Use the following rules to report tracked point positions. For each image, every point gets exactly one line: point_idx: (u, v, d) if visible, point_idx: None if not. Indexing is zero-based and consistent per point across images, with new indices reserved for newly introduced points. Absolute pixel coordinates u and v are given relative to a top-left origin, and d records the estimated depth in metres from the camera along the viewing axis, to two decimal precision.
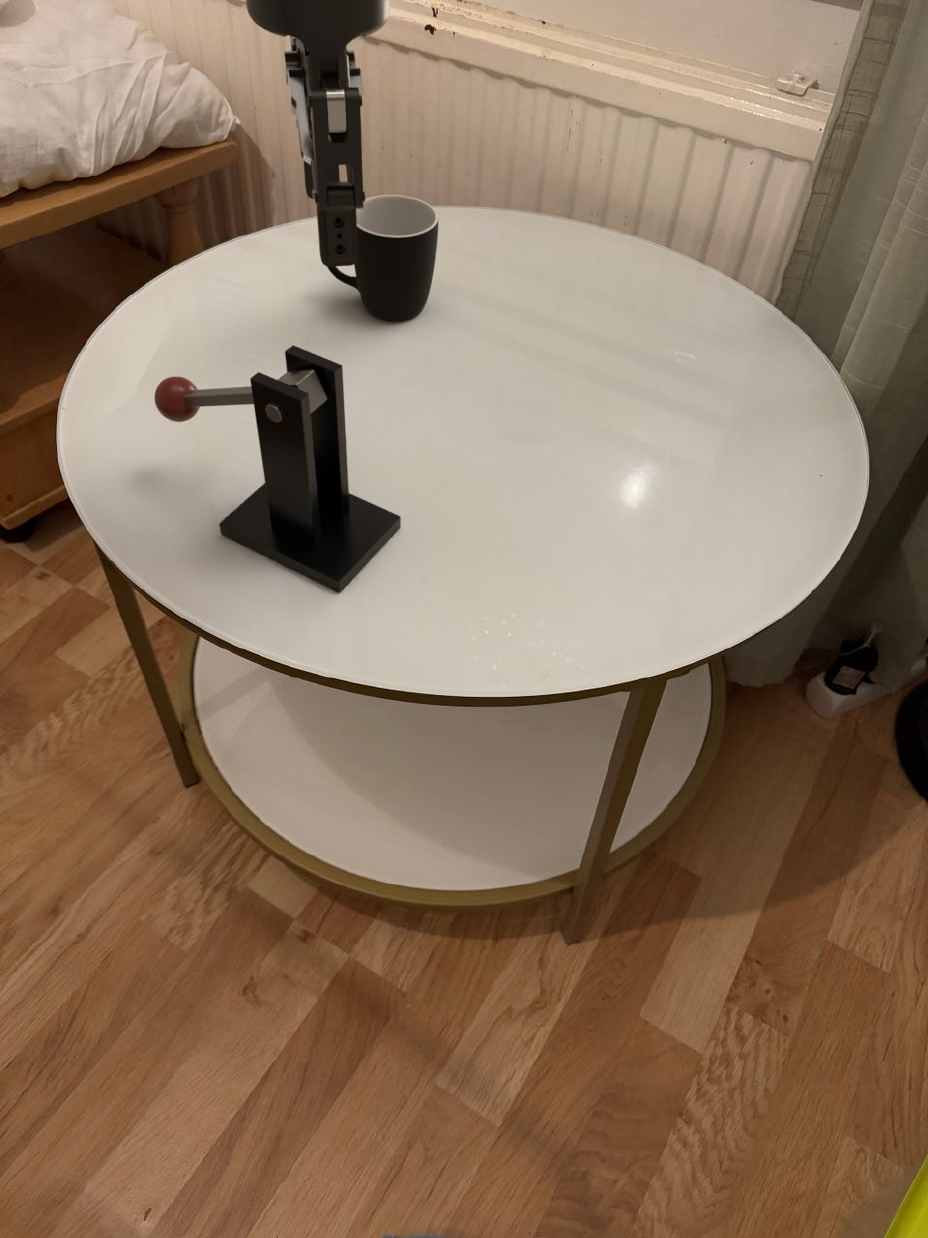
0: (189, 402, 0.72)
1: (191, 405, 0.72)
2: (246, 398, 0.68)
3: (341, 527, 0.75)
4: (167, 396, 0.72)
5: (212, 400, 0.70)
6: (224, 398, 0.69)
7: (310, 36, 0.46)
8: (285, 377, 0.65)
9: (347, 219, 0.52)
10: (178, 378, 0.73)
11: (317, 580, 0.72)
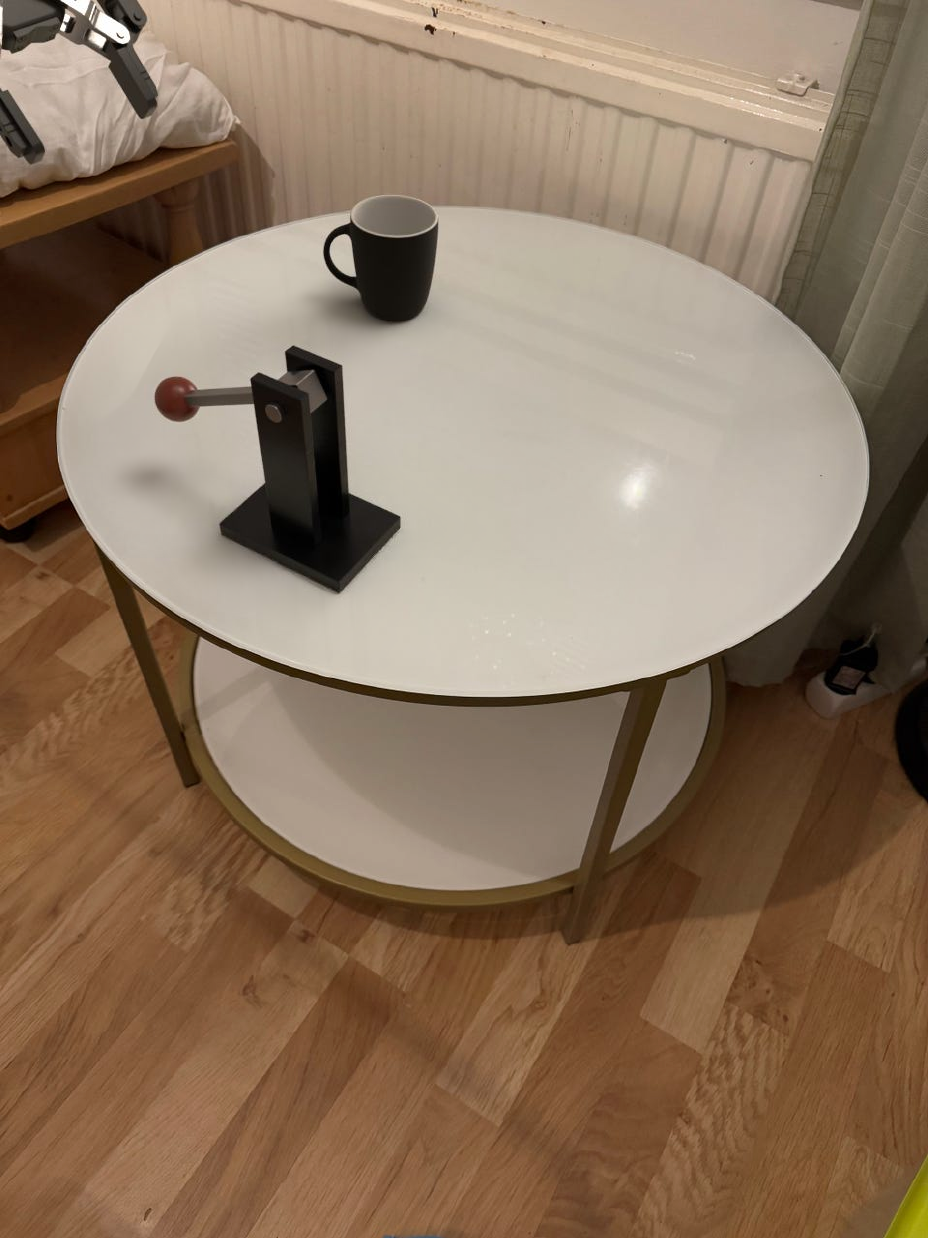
0: (189, 402, 0.72)
1: (191, 405, 0.72)
2: (246, 398, 0.68)
3: (341, 527, 0.75)
4: (167, 396, 0.72)
5: (212, 400, 0.70)
6: (224, 398, 0.69)
7: None
8: (285, 377, 0.65)
9: None
10: (178, 378, 0.73)
11: (317, 580, 0.72)
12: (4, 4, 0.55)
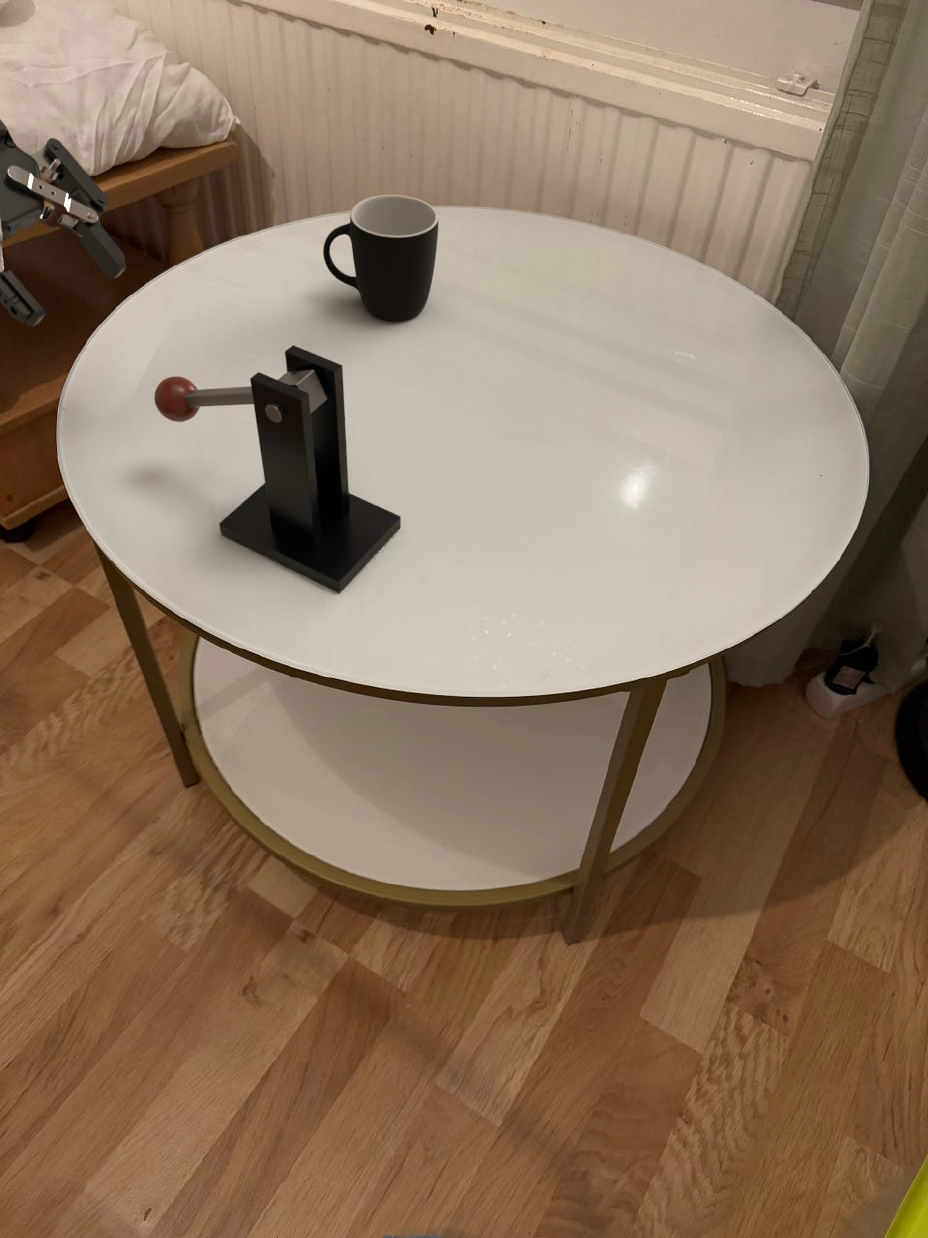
0: (189, 402, 0.72)
1: (191, 405, 0.72)
2: (246, 398, 0.68)
3: (341, 527, 0.75)
4: (167, 396, 0.72)
5: (212, 400, 0.70)
6: (224, 398, 0.69)
7: None
8: (285, 377, 0.65)
9: None
10: (178, 378, 0.73)
11: (317, 580, 0.72)
12: None
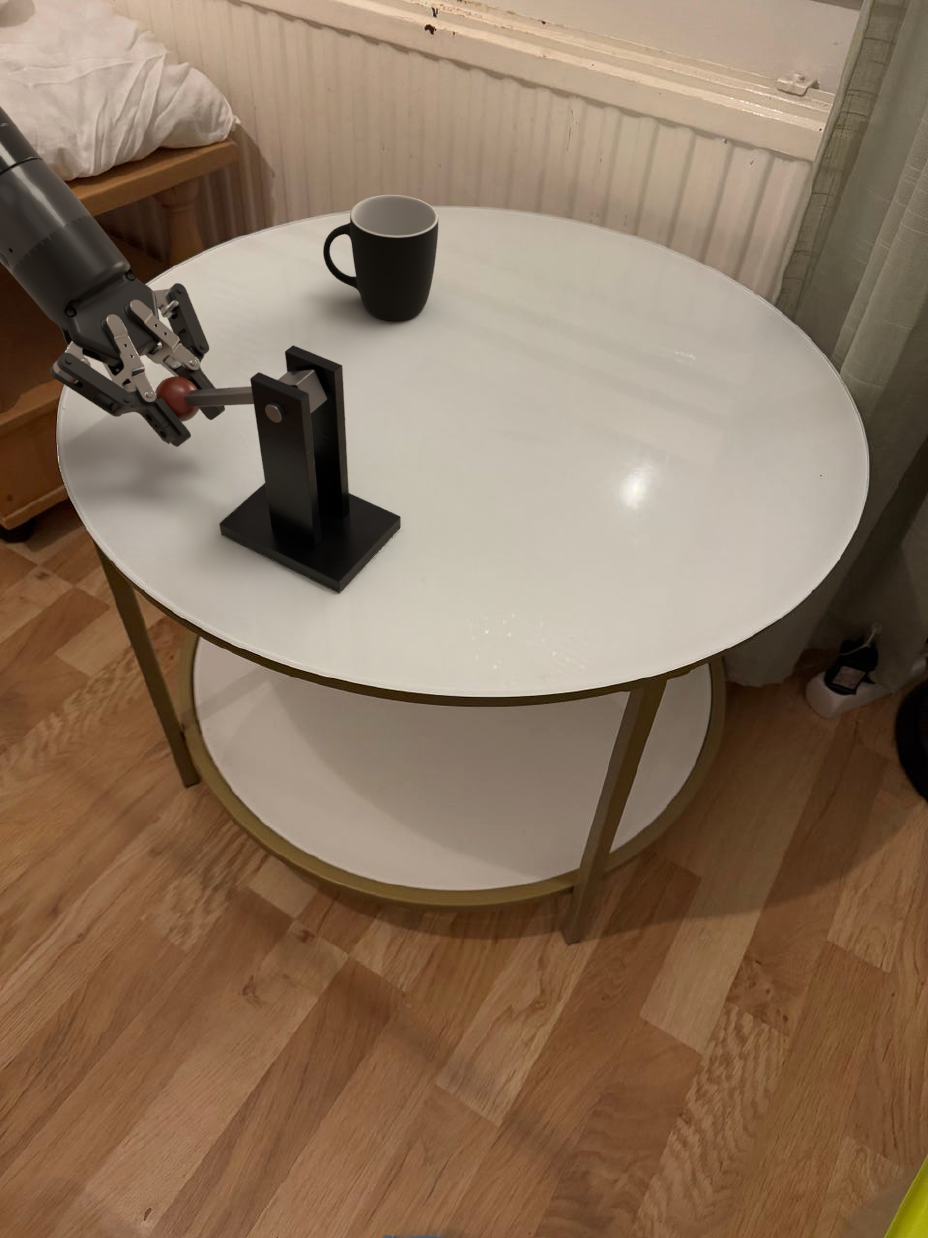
0: (189, 402, 0.72)
1: (191, 405, 0.72)
2: (246, 398, 0.68)
3: (341, 527, 0.75)
4: (167, 396, 0.72)
5: (212, 400, 0.70)
6: (224, 398, 0.69)
7: None
8: (285, 377, 0.65)
9: None
10: (178, 378, 0.73)
11: (317, 580, 0.72)
12: None
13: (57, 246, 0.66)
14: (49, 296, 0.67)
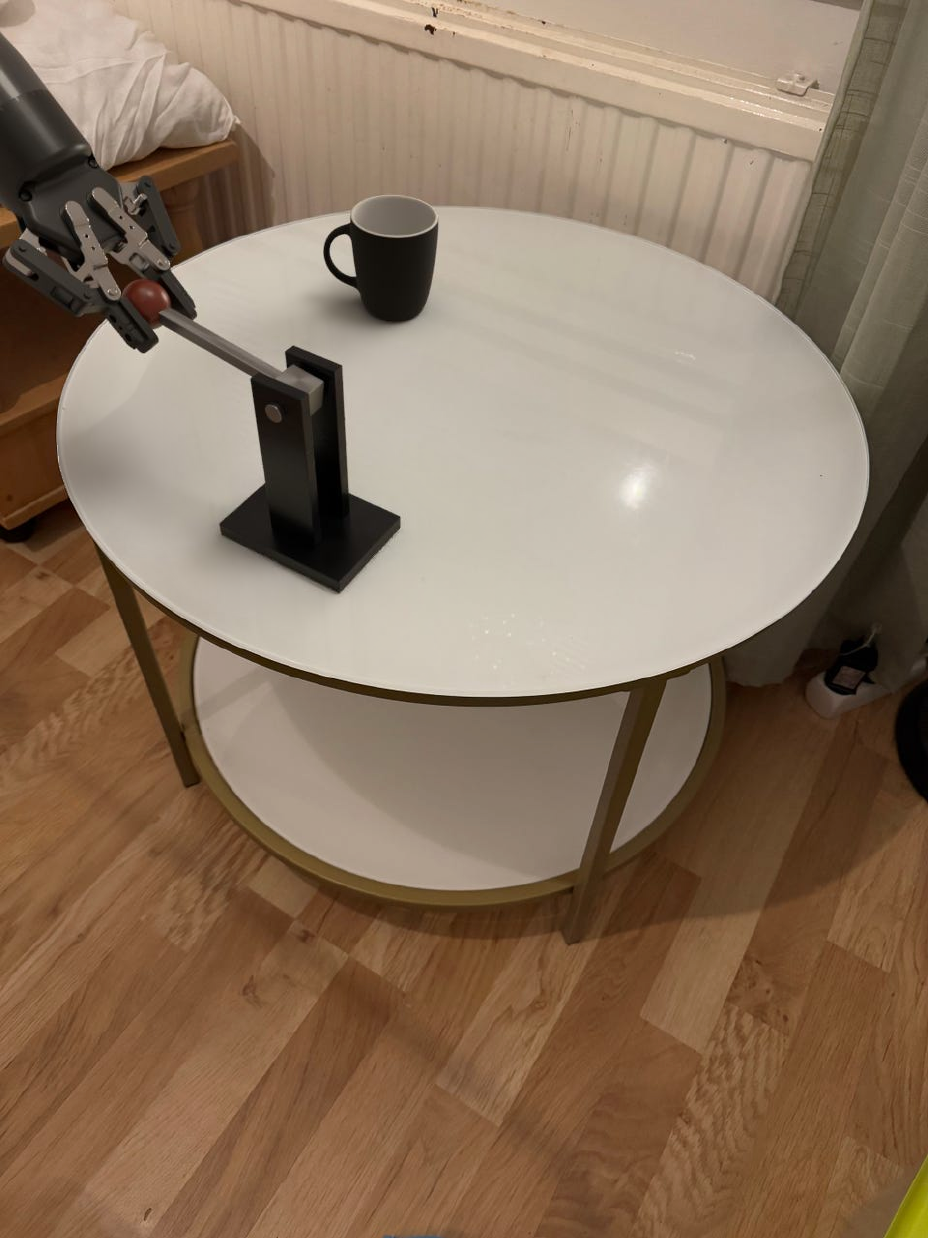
0: (162, 321, 0.67)
1: (163, 324, 0.67)
2: (237, 363, 0.66)
3: (341, 527, 0.75)
4: (141, 307, 0.66)
5: (193, 338, 0.67)
6: (210, 346, 0.66)
7: None
8: (291, 373, 0.65)
9: None
10: (157, 288, 0.67)
11: (317, 580, 0.72)
12: None
13: (10, 119, 0.59)
14: (1, 176, 0.61)
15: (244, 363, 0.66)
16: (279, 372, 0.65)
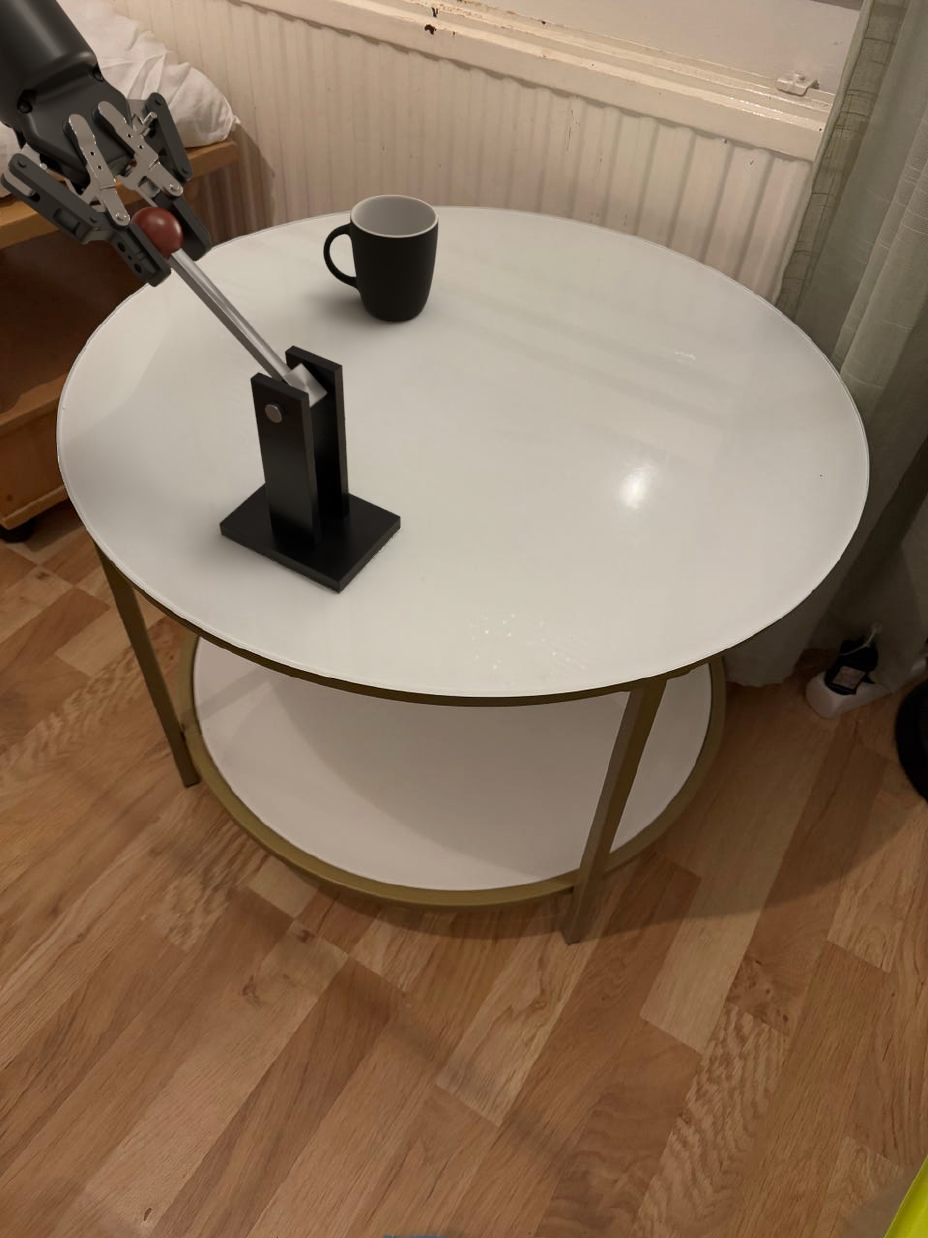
0: (172, 263, 0.62)
1: (171, 265, 0.63)
2: (244, 340, 0.64)
3: (341, 527, 0.75)
4: (156, 244, 0.61)
5: (203, 295, 0.63)
6: (219, 312, 0.63)
7: None
8: (299, 375, 0.64)
9: None
10: (176, 227, 0.61)
11: (317, 580, 0.72)
12: None
13: (7, 18, 0.54)
14: None
15: (252, 345, 0.64)
16: (284, 366, 0.65)
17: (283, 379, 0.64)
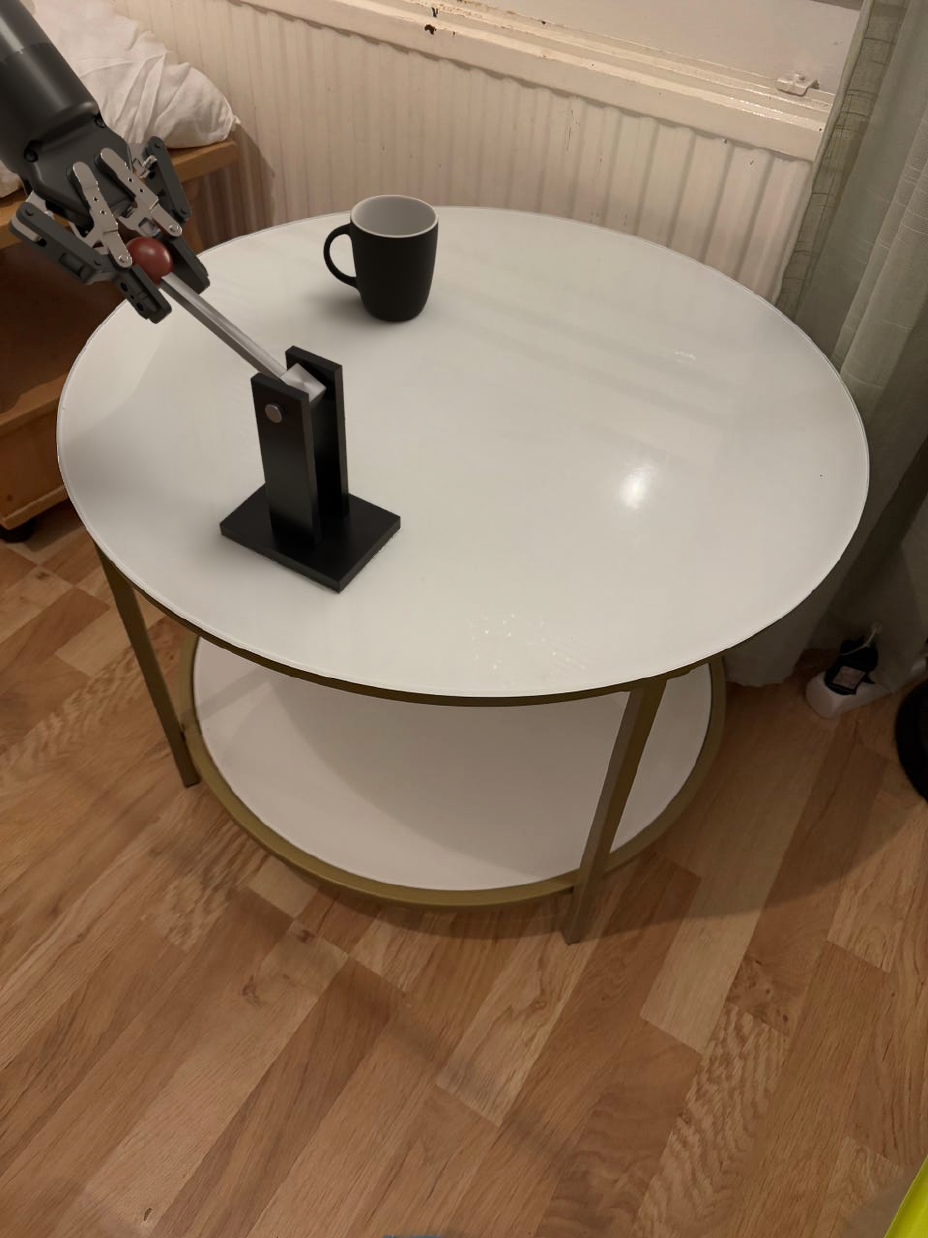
0: (164, 286, 0.64)
1: (164, 289, 0.65)
2: (239, 349, 0.65)
3: (341, 527, 0.75)
4: (145, 270, 0.63)
5: (195, 313, 0.65)
6: (212, 325, 0.65)
7: None
8: (295, 374, 0.64)
9: None
10: (163, 251, 0.64)
11: (317, 580, 0.72)
12: None
13: (14, 73, 0.56)
14: (5, 135, 0.58)
15: (247, 352, 0.65)
16: (281, 368, 0.65)
17: (279, 379, 0.64)
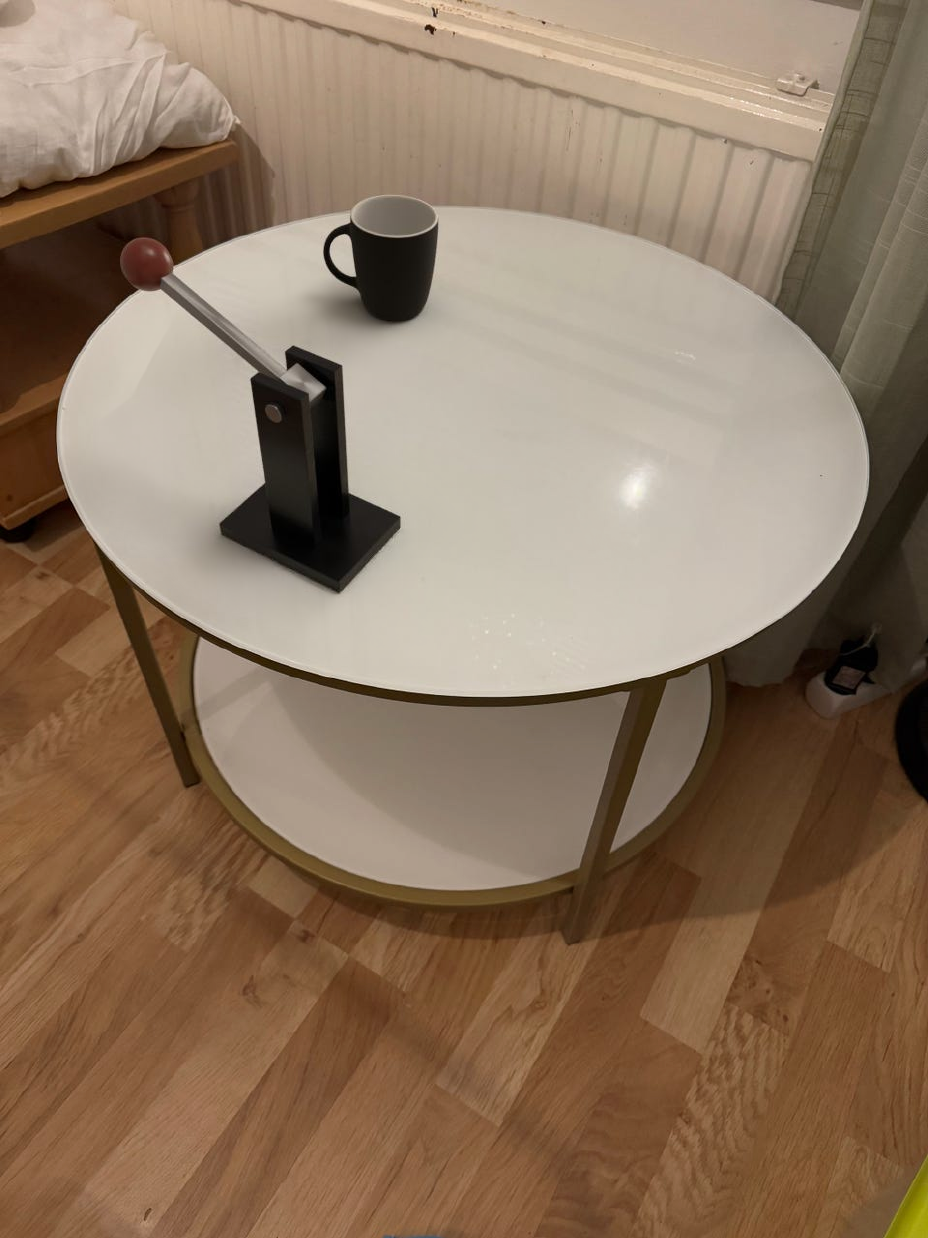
0: (164, 287, 0.65)
1: (164, 290, 0.65)
2: (239, 349, 0.65)
3: (341, 527, 0.75)
4: (145, 270, 0.63)
5: (195, 313, 0.65)
6: (212, 326, 0.65)
7: None
8: (295, 374, 0.64)
9: None
10: (163, 252, 0.64)
11: (317, 580, 0.72)
12: None
13: None
14: None
15: (247, 352, 0.65)
16: (281, 368, 0.65)
17: (279, 379, 0.64)
